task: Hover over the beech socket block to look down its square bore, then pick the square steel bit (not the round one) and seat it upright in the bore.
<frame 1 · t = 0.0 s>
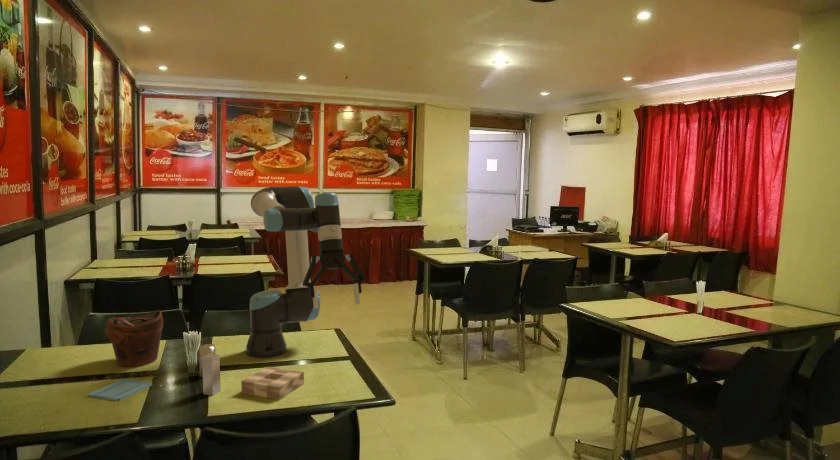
hand: (337, 306, 174), 28 cm above the table, tool tilted 20°, fingers open, 13 cm apart
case: (136, 361, 202), on the table
blue flat panel: (121, 392, 176), on the table
round bit: (207, 374, 190), on the table
square bit: (211, 392, 175), on the table
socket block: (273, 388, 179), on the table
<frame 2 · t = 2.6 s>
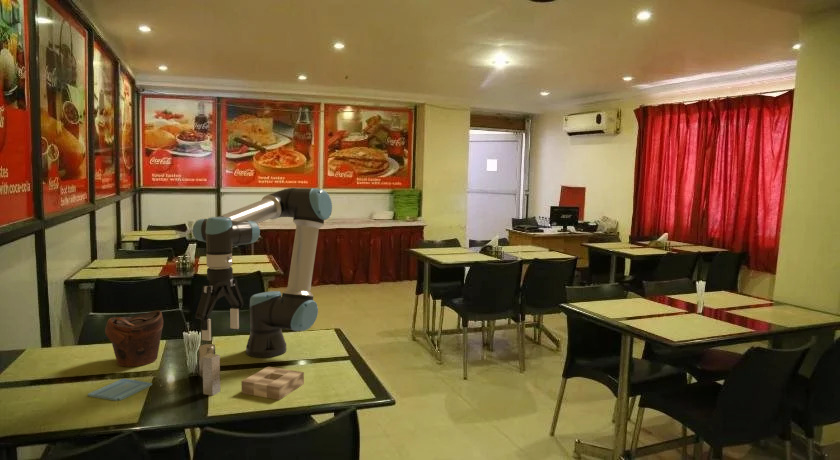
hand: (221, 334, 173), 19 cm above the table, tool pointing down, fingers open, 13 cm apart
nothing on the table moved.
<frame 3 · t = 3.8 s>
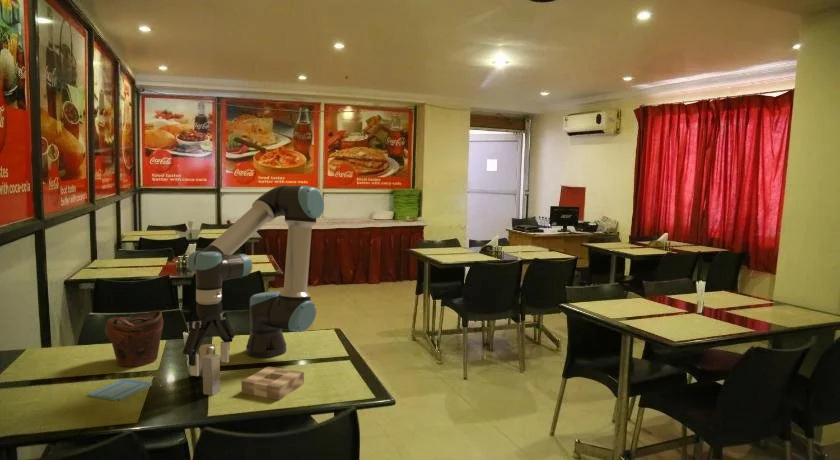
hand: (210, 368, 174), 8 cm above the table, tool pointing down, fingers open, 13 cm apart
nothing on the table moved.
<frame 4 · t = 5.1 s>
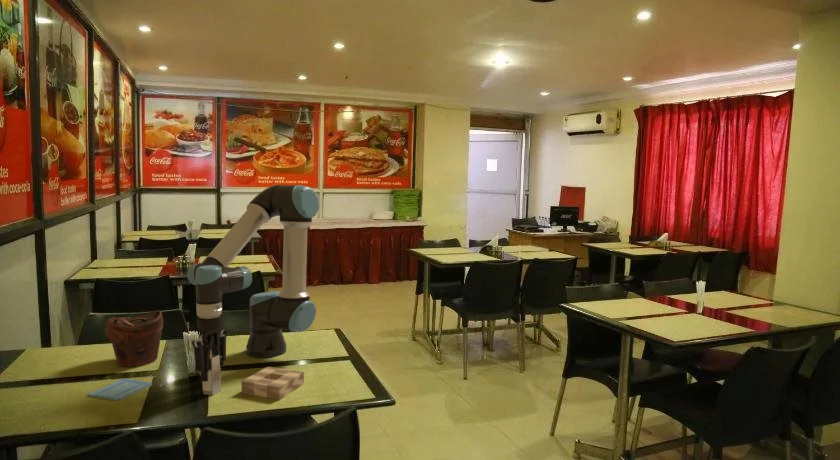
hand: (211, 387, 175), 2 cm above the table, tool pointing down, fingers closed on square bit, 4 cm apart
square bit: (211, 392, 175), on the table, touching gripper
everything else where it was.
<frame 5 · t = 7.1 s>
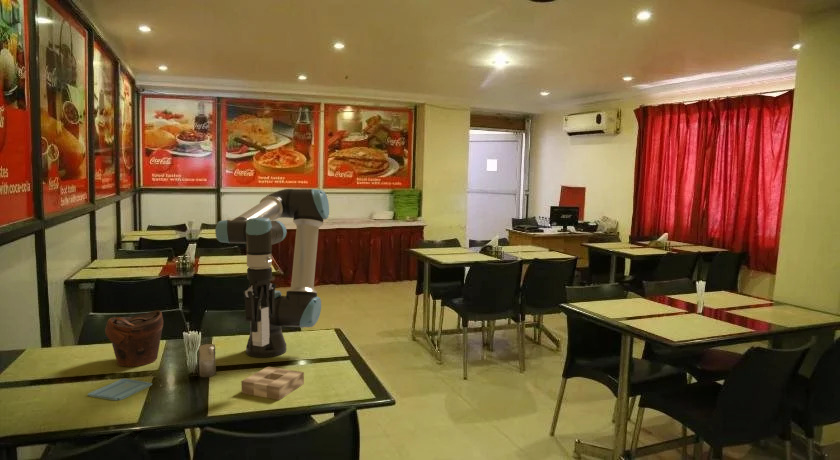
hand: (260, 339, 176), 17 cm above the table, tool pointing down, fingers closed on square bit, 4 cm apart
square bit: (261, 344, 176), point 15 cm above the table, touching gripper
everything else where it was.
when the fingers open (5 cm above the table, at t = 9.3 s): square bit drops 3 cm, resting on socket block.
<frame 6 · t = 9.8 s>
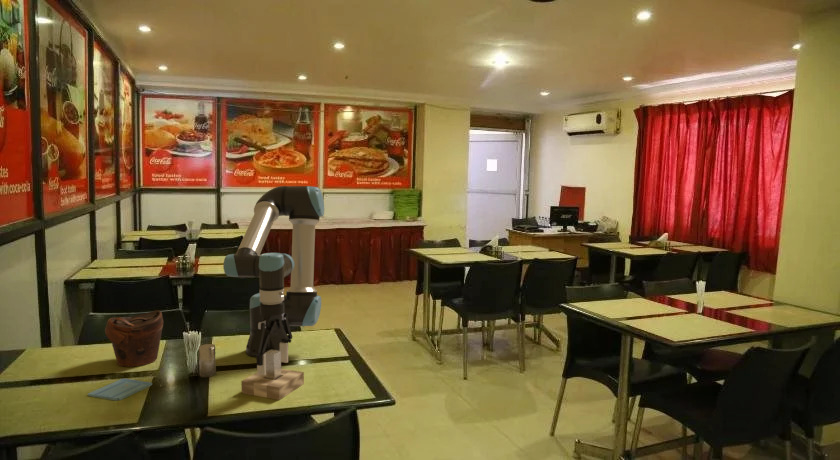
hand: (273, 368, 178), 7 cm above the table, tool pointing down, fingers open, 11 cm apart
square bit: (273, 387, 179), resting on socket block
everything else where it was.
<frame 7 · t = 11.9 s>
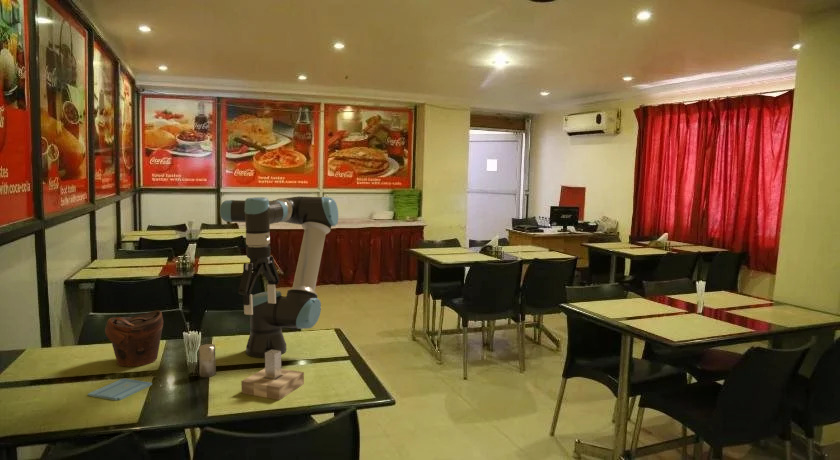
hand: (260, 308, 183), 25 cm above the table, tool pointing down, fingers open, 13 cm apart
nothing on the table moved.
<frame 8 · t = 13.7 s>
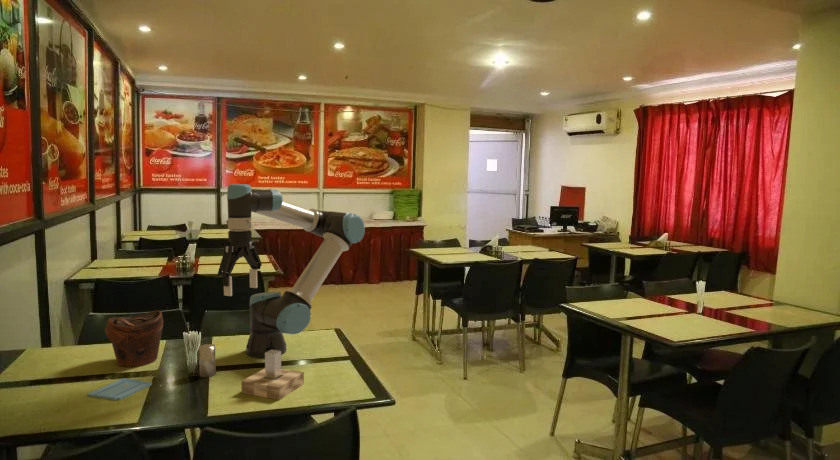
hand: (241, 291, 189), 29 cm above the table, tool pointing down, fingers open, 13 cm apart
nothing on the table moved.
at the end: square bit 0.0 cm off-centre on the socket block, point 0.2 cm above the socket block's base; square bit tilted 0°; the gripper is holding nothing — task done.
